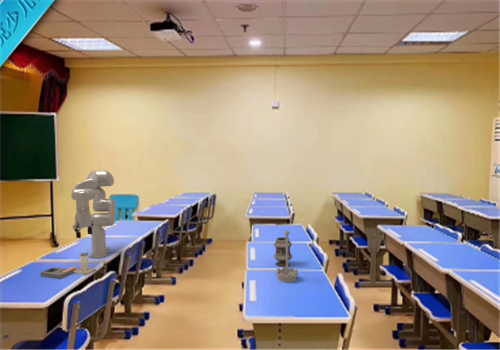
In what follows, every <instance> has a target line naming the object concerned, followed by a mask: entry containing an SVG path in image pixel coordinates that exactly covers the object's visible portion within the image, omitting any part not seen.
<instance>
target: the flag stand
mask: <svg viewBox="0 0 500 350" xmlns="http://www.w3.org/2000/svg"><path fill="white" fill-rule="evenodd" d="M289 235H290V231H289V230H285V232H284V236H285V237H286V267H281V268H280V267H278V268H277V269H276V270H275V271H276V272H275V274H276V276H277V280H278V281H279V282H281V283H293V282H296V281H297V277H298V275H299V270H298V269H297V268H295V267H292V266H291V267H290V266H288V262H289V261H288V238H289Z"/></svg>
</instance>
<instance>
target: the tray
mask: <svg viewBox="0 0 500 350" xmlns="http://www.w3.org/2000/svg"><path fill="white" fill-rule="evenodd" d="M95 271H96V268H95V267H89V271H87V272H81V267H80V268H79V269H78V268H77V270H76V271H74V272H73V274H77V275H78V274H79V275H83V276H86V275H90V274H91V273H93V272H95Z"/></svg>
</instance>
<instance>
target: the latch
mask: <svg viewBox="0 0 500 350" xmlns="http://www.w3.org/2000/svg"><path fill="white" fill-rule="evenodd" d="M65 269H66V270H64V271H62V272H63V273H64V272H66V271H68V270H73V273H74V271H76V270H78V267H77V266H71V267H69V268H65Z"/></svg>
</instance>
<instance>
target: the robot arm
mask: <svg viewBox="0 0 500 350" xmlns="http://www.w3.org/2000/svg"><path fill="white" fill-rule="evenodd" d="M114 183H115V178H114V175H113V174H111V172H109V171H108V170H93V171H90V172H89V174H88V175H87V177H86V178H85V180H83V181H81V182H78V183H77V184H76V185H74V187H73V188H72V191H71V194H70V196H71V199H72V200H74V201H75V207H76V209H75V210H76V212H75V215H74V224H73V225H72V229H73V231H74V232H75V238H76V239H81V238H82V234H81V230H82V229H85V228H87V235H91V250H92V251H91V254H90V255H89V257H90V258H91V259H98V258H99V259H100V258H101V259H102V258H105V257H107V256H109V251H110V250H111V247H110V246H109V247H108V246H107V237H106V229H104V227H110V226H111V227H112V226H114V225H115V222H116V209H117V208H116V206H117V205H116V201H115V200H114V199H113V198H106V195H107V193H106V191H105V189H103V187H111V186H113V185H114ZM90 201H92V210H93V211H94V212H95V213H92V214H91V211H90ZM96 212H97V213H96Z"/></svg>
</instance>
